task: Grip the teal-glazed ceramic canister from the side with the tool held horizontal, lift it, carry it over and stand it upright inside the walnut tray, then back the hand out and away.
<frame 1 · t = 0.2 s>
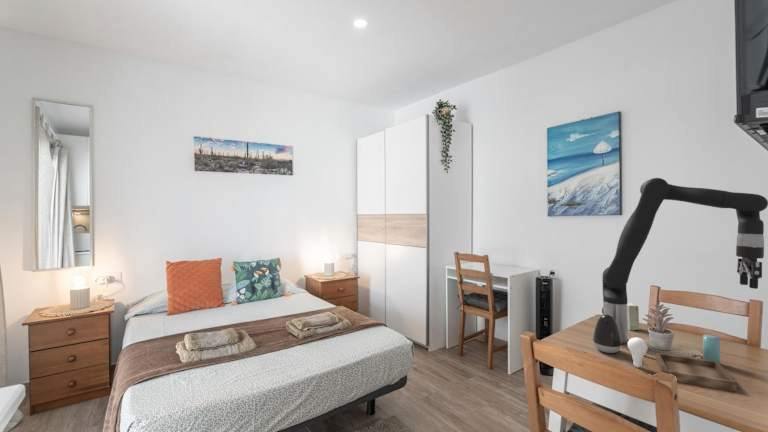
hand: (748, 286, 137), 28 cm above the table, tool pointing down, fingers open, 8 cm apart
lightbulb: (637, 367, 130), on the table
mate gourd: (610, 321, 187), on the table
walnut tray: (692, 374, 124), on the table
skincare box: (631, 329, 174), on the table
teal canister: (711, 362, 133), on the table
black rounded dome: (607, 351, 146), on the table
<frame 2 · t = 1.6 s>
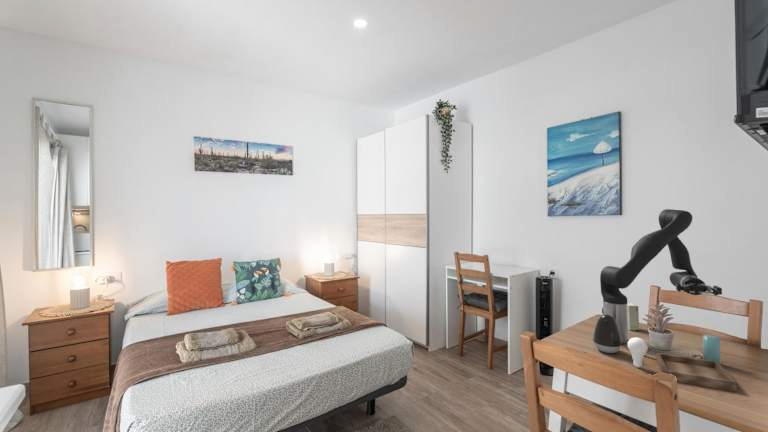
hand: (702, 292, 143), 25 cm above the table, tool horizontal, fingers open, 8 cm apart
nothing on the table moved.
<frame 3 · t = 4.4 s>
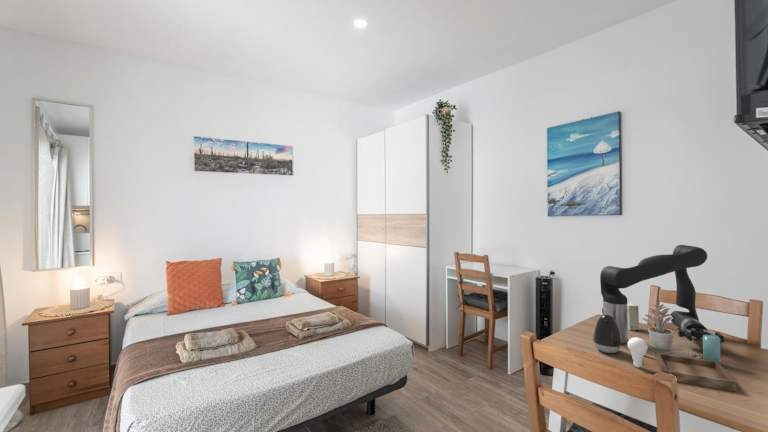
hand: (704, 340, 141), 6 cm above the table, tool horizontal, fingers open, 8 cm apart
nothing on the table moved.
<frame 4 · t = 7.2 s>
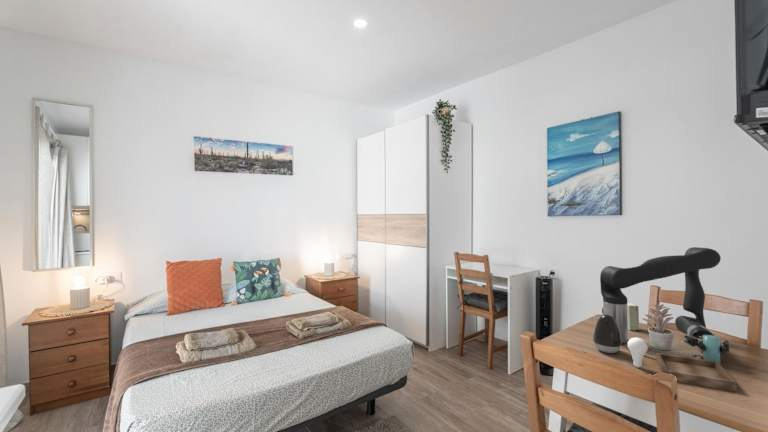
hand: (713, 349, 131), 6 cm above the table, tool horizontal, fingers closed on teal canister, 4 cm apart
teal canister: (711, 362, 133), on the table, touching gripper
everything else where it was.
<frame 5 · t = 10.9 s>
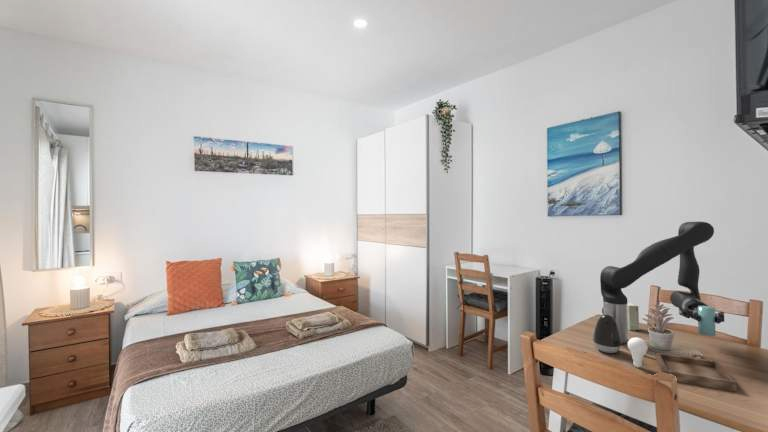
hand: (708, 319, 129), 18 cm above the table, tool horizontal, fingers closed on teal canister, 4 cm apart
teal canister: (706, 333, 131), point 12 cm above the table, touching gripper
everything else where it was.
when the fingers open (8 cm above the table, at t = 14.8 s): teal canister drops 1 cm, resting on walnut tray.
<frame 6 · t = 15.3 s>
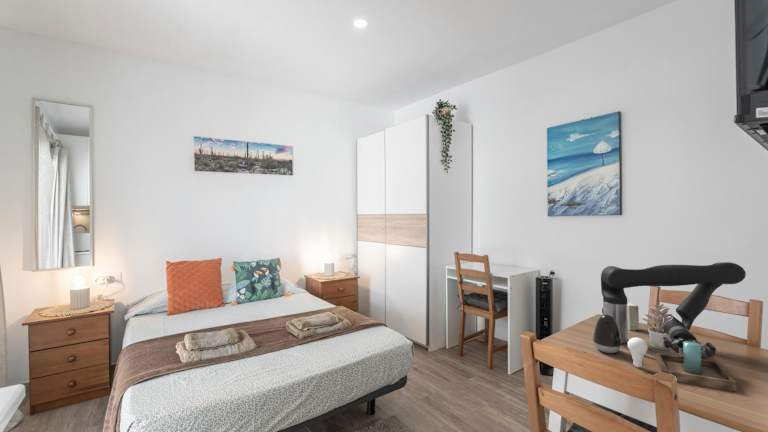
hand: (693, 352, 122), 9 cm above the table, tool horizontal, fingers open, 8 cm apart
teal canister: (692, 371, 124), point 1 cm above the table, touching walnut tray
everything else where it was.
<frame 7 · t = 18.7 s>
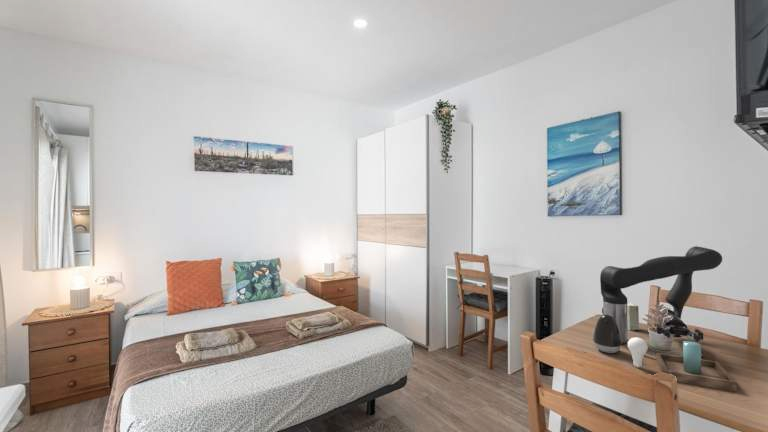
hand: (683, 337, 135), 10 cm above the table, tool horizontal, fingers open, 8 cm apart
nothing on the table moved.
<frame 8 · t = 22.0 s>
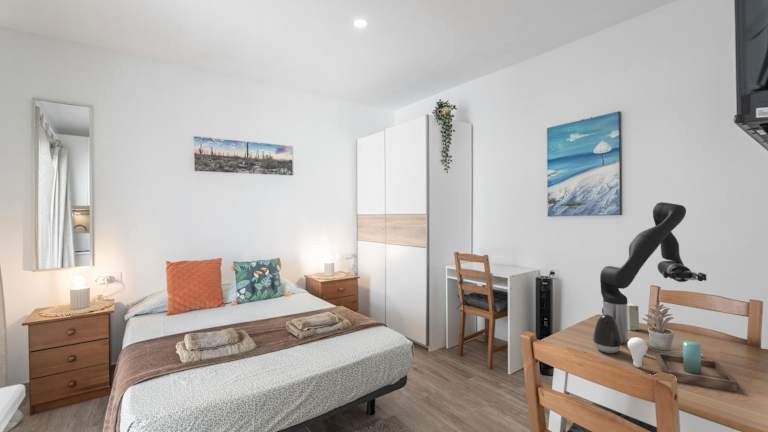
hand: (687, 278, 148), 30 cm above the table, tool horizontal, fingers open, 8 cm apart
nothing on the table moved.
at the end: teal canister inside the target area on the walnut tray (0.1 cm from its centre), point 1.1 cm above the walnut tray's base; teal canister tilted 1°; the gripper is holding nothing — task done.
